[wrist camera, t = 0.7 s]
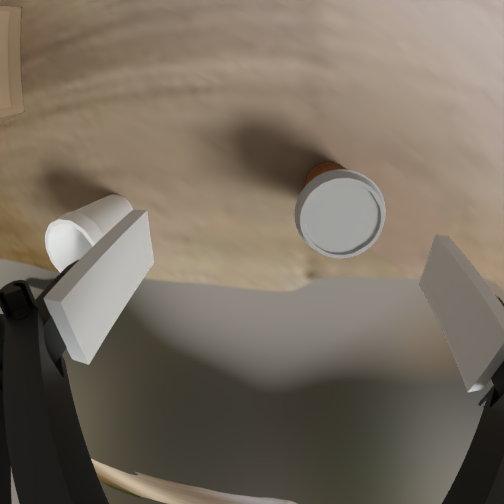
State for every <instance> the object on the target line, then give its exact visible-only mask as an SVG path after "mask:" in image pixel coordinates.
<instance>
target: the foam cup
mask: <svg viewBox="0 0 504 504" xmlns="http://www.w3.org/2000/svg"><path fill="white" fill-rule="evenodd" d="M132 210H133V209H132V206H131V205H130V203H129V202H128V200H127V199H125V198H124V197H122V196H120V195H115V194H111V195H109V196H106V197H104V198H102V199H99V200H97V201H95V202H92V203H90V204H88V205H86V206H83V207H81V208H79V209H77V210H75V211H72V212H67V213H66V214H64V215H62V216H60V217H59V218H57V219H56V220H55V221H53V222H52V223H51V224H49V226H48V229H47V231H46V234H45V243H46V250H47V252H48V255H49V257H50V260H51V262H52V263H53V264H54V266H55V267H56V268H57V269H58V271H59V272H60V273H61V272H62V271H63V270H64V269H65V268H66V267H67V266H68V265H70V264H72V263H73V262H75V261H77V260H80V259H81V258H82V257H83V256H84V255H85V254H86V253H87V252H88V251H89V250H90V249H91V248H92V247H93V246H94V245H95V244H96V243H97V242H98V241H99V240H100V239H101V238H102V237H103V236H104V235H105V234H106V233H108V232H109V231H110V230H111V229H112V228H113V227H114V226H115V225H116V224H117V223H118V222H119V221H121V220H122V219H123V218H124V217H125V216H126V215H127V214H128V213H129V212H131V211H132Z"/></svg>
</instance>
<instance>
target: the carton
mask: <svg viewBox="0 0 504 504" xmlns="http://www.w3.org/2000/svg"><path fill="white" fill-rule="evenodd" d="M21 12H22V7H12V6H0V124H1V123H3V122H4V121H6V120H8V119H10V118H12V117H14V116H16V115H18V114H20V113H22V112H24V104H23V93H22V80H21V58H20V34H21Z"/></svg>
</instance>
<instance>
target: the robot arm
mask: <svg viewBox="0 0 504 504" xmlns="http://www.w3.org/2000/svg"><path fill="white" fill-rule="evenodd" d="M153 264H154V258H153V252H152V245H151V238H150V230H149V223H148V215H147V210H132V211H131V212H129V213H128V214H127V215H126V216H125V217H124V218H123V219H122V220H121V221H119V222H118V223H117V224H116V225H115V226H114V227H113V228H112V229H111V230H110V231H109V232H108V233H106V234H105V235H104V236H103V237H102V238H101V239H100V240H99V241H98V242H97V243H96V244H95V245H94V246H93V247H92V248H91V249H90V250H89V251H88V252H87V253H86V254H85V255H84V256H83V257H82V258H81V259H80V260H77V261H75V262H73V263H72V264H70V265H68V266H67V267H66V268H65V269H64V270H63V271H62V272H61V273H60V275H58V276H57V277H56V278H55V279H54V282H53V281H52V282H51V283H50V285H49V286H48V287H47V288H46V289H45V290H44V291H43V292H42V293H41V294H40V296H38V298H37V299H36V300H35V299H34V296H33V294H32V292H31V289H30V287H29V284H28V283H27V282H26V281H24V280H18V281H13V282H11V283H9V284H7V285H6V286H4V287H3V288H2V289H1V290H0V307H1V309H2V311H3V313H4V314H0V504H11V468H12V474H13V478H14V483H15V487H16V491H17V495H18V499H19V503H20V504H109V502H108V500H107V498H106V496H105V493H104V491H103V489H102V486H101V484H100V482H99V479H98V477H97V474H96V471H95V469H94V466H93V463H92V461H91V458H90V455H89V452H88V449H87V446H86V443H85V440H84V437H83V434H82V431H81V427H80V424H79V420H78V416H77V413H76V409H75V405H74V401H73V397H72V393H71V389H70V384H69V379H68V374H67V369H66V364H65V360H64V358H63V356H62V354H63V352H64V351H65V349H66V348H67V350H68V352H69V354H70V356H71V358H72V359H73V360H76V361H79V362H82V363H85V364H90V362H91V360H92V359H93V357H94V355H95V354H96V352H97V350H98V349H99V347H100V345H101V344H102V342H103V340H104V338H105V337H106V336H107V334H108V332H109V331H110V329H111V327H112V326H113V324H114V323H115V321H116V319H117V318H118V316H119V315H120V313H121V312H122V310H123V308H124V307H125V305H126V304H127V302H128V301H129V299H130V298H131V296H132V295H133V293H134V292H135V290H136V289H137V287H138V286H139V284H140V283H141V281H142V280H143V278H144V277H145V275H146V274H147V272H148V271H149V269H150V268H151V267H152V265H153ZM419 285H420V287H421V289H422V291H423V292H424V295H425V297H426V298H427V300H428V302H429V304H430V306H431V308H432V310H433V312H434V314H435V317H436V319H437V321H438V323H439V325H440V327H441V329H442V331H443V333H444V336H445V338H446V340H447V342H448V344H449V347H450V349H451V351H452V354H453V356H454V358H455V361H456V363H457V366H458V368H459V371H460V373H461V376H462V378H463V381H464V384H465V386H466V389H467V392H472V391H477V390H482V389H483V388H484V387H485V386H486V384H487V383H488V382H489V381H490V379H492V382H493V384H494V386H493V387H492V388H491V389H490V391H489V392H488V393H487V394H486V395H485V397H484V398H483V399H482V400H481V401H480V403H479V405H480V406H481V404H482V403H483V402H485V401H486V403H485V406H484V410H483V413H482V416H481V418H480V421H479V424H478V427H477V430H476V433H475V435H474V438H473V440H472V443H471V445H470V448H469V450H468V452H467V454H466V457H465V459H464V461H463V463H462V466H461V468H460V470H459V472H458V474H457V476H456V478H455V480H454V482H453V484H452V486H451V488H450V490H449V492H448V494H447V495H446V498H445V499H444V501H443V503H442V504H504V303H503V302H502V300H501V299H500V298H498V297H497V296H496V295H495V294H494V293H493V291H492V290H491V288H490V287H489V286H488V285H487V283H486V282H485V280H484V279H483V278H482V276H481V275H480V274H479V272H478V271H477V270H476V269H475V267H474V266H473V265H472V264H471V262H470V261H469V260H468V259H467V257H466V256H465V255H464V254H463V253H462V251H461V250H460V249H459V248H458V247H457V246H456V244H455V243H454V242H453V241H452V240H451V239H450V237H449V236H443V235H435V238H434V241H433V245H432V248H431V251H430V254H429V257H428V260H427V263H426V266H425V269H424V272H423V274H422V277H421V280H420V283H419Z"/></svg>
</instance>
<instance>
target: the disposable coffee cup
mask: <svg viewBox="0 0 504 504" xmlns="http://www.w3.org/2000/svg"><path fill="white" fill-rule="evenodd" d="M385 214H386V208H385V202H384V198H383V196H382V193H381V191H380V190H379V188H378V187H377V185H376V184H375V183H374V182H373V181H372V180H370V179H369V178H368V177H367V176H365V175H363V174H361V173H358V172H356V171H352V170H348V169H346V168H344V167H343V166H341V165H339V164H337V163H333V162H324V163H320V164H318V165H316V166H315V167H314V168H312V169H311V171H310V172H309V174H308V175H307V178H306V182H305V186H304V189H303V190H302V192H301V193H300V195H299V197H298V200H297V203H296V207H295V223H296V227H297V229H298V232H299V234H300V235H301V237H302V239H303V240H304V241H305V242H306V243H307V244H308V245H309V246H310V247H311V248H313V249H314V250H316V251H317V252H319V253H321V254H323V255H326V256H329V257H333V258H347V257H352V256H355V255H358V254H360V253H362V252H364V251H365V250H367V249H368V248H370V247H371V246H372V245H373V244H374V242H375V241H376V240H377V239H378V237H379V235H380V233H381V231H382V228H383V225H384V221H385Z"/></svg>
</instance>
